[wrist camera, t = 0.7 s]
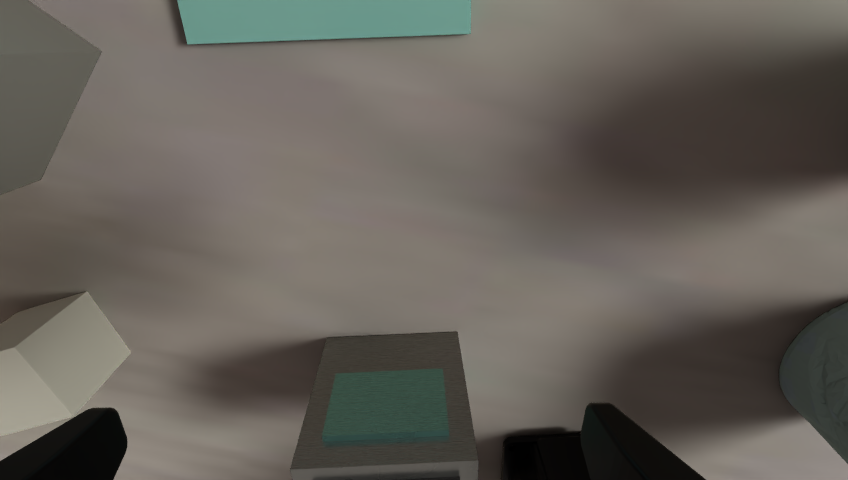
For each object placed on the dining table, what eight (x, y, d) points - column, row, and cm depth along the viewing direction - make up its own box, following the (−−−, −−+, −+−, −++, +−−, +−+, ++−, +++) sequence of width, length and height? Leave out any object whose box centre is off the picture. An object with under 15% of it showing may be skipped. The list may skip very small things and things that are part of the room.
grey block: (131, 351, 24) (74, 416, 20) (66, 370, 24) (-4, 437, 20) (87, 290, 22) (14, 347, 18) (18, 311, 23) (-69, 371, 18)
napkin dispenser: (457, 389, 25) (477, 537, 18) (335, 395, 25) (303, 546, 18) (457, 327, 24) (479, 461, 16) (326, 333, 24) (286, 471, 16)
